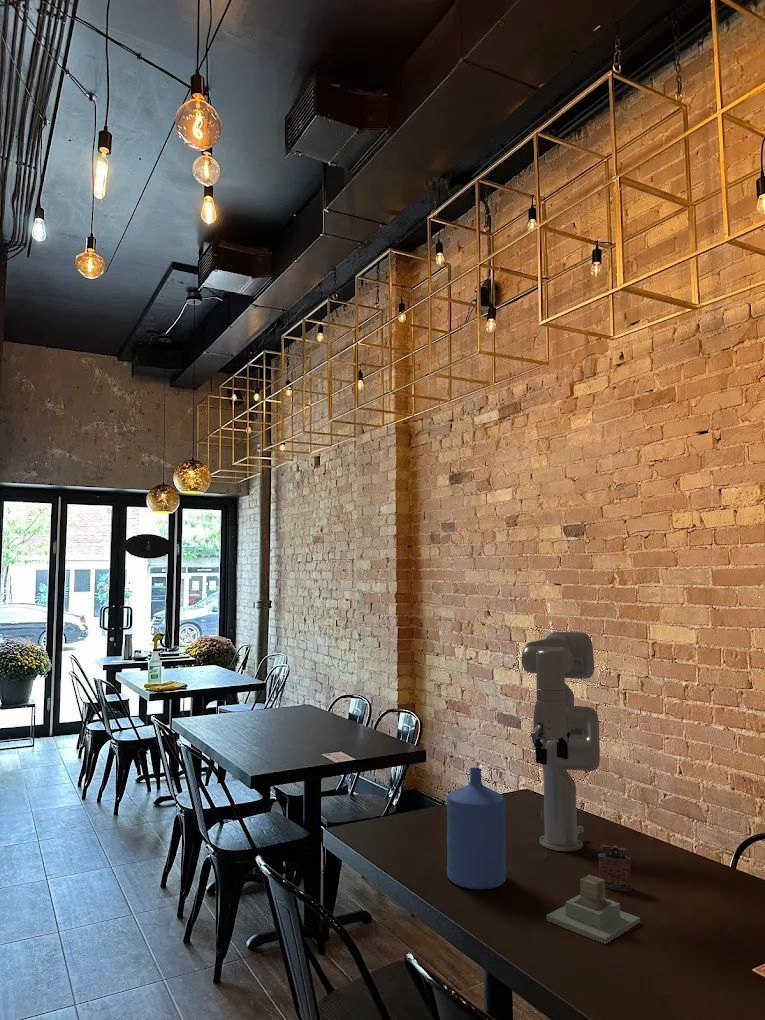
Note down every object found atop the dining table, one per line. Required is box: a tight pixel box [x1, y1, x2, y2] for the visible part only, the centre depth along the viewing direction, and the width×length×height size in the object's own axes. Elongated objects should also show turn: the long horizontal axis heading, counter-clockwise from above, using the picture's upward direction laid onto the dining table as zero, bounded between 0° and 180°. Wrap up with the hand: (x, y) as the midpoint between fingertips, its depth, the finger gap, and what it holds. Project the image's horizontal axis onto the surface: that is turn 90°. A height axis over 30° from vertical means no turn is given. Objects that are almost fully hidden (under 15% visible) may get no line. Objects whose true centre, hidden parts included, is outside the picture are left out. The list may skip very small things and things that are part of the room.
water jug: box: [446, 767, 507, 890], centre depth 189 cm, size 16×16×28 cm
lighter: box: [597, 844, 633, 891], centre depth 184 cm, size 8×3×10 cm, turn 71°
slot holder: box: [546, 894, 641, 945], centre depth 164 cm, size 15×15×4 cm
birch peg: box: [579, 874, 606, 911], centre depth 164 cm, size 4×4×8 cm
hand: (552, 760), depth 191 cm, fingers open, 9 cm apart
